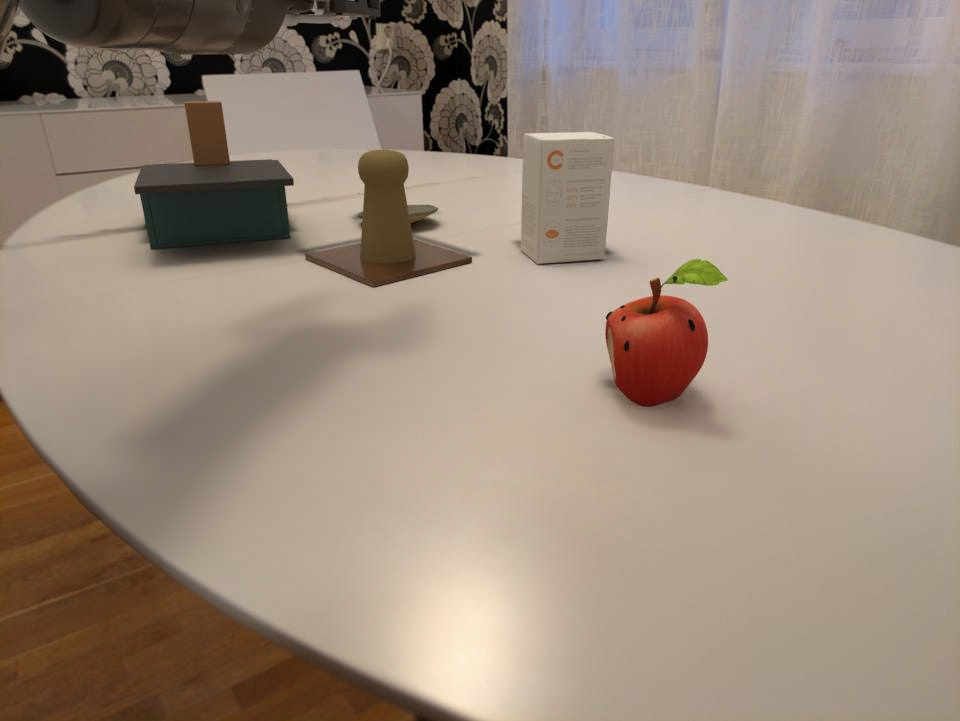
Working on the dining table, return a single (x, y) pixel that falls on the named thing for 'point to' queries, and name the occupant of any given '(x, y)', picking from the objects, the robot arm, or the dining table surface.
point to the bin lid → (210, 160)
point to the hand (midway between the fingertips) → (321, 1)
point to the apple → (660, 339)
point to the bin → (215, 216)
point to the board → (378, 273)
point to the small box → (565, 196)
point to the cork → (385, 208)
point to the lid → (416, 212)
